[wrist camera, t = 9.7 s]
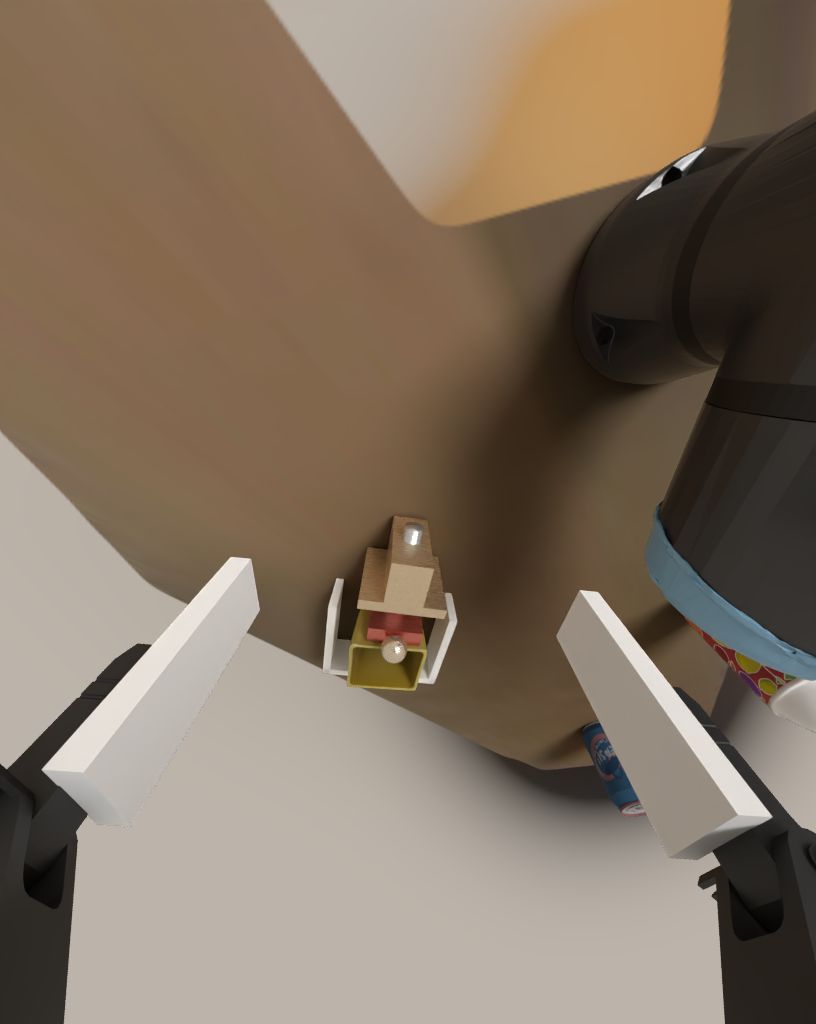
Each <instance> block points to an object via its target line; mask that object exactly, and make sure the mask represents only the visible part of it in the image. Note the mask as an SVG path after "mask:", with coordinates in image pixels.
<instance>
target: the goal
mask: <svg viewBox="0 0 816 1024" xmlns="http://www.w3.org/2000/svg"><path fill="white" fill-rule="evenodd" d="M343 584H344V579H339V578H336V582H335V585H334V589H333V592H332V595H331V599H330V602H329V606H328V617H327V628H326V640H325V651H324V663H323V673H327V674H336V675H347V676H348V667H349V647H350V643H351V640H343V639H337V637H338V628H339V619H340V610H341V601H342V592H343ZM444 595H445V601H446V607H447V613H446V616H445V619H439V618H436V620H435V623H434V626H433V629H432V632H431V636H430V639H429V642H428V645H427V656H426V659H425V662H424V665H423V668H422V671H421V675H420V678H419V681H418V683H428V684H434V683H435V680H436V677H437V675H438V672H439V669H440V667H441V664H442V661H443V659H444V656H445V653H446V651H447V648H448V645H449V643H450V640H451V637H452V635H453V632H454V629H455V627H456V624H457V618H456V613H455V608H454V603H453V598H452V593H444Z"/></svg>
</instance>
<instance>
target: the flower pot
mask: <svg viewBox="0 0 816 1024" xmlns="http://www.w3.org/2000/svg"><path fill="white" fill-rule="evenodd" d="M369 614H370V610H365V609H361V610H360V612H359V615H358V618H357V622H356V625H355V629H354V632H353V636H352V640H351V643H350V647H349V667H348V676H347V686H350V687H362V688H379V689H395V690H412V691H414V690H415V689H416V687H417V684H418V681H419V678H420V675H421V671H422V668H423V665H424V662H425V659H426V656H427V647H426V642H425V636H424V631H423V636H422V639H421V643H420V646H411V645H407V654H406V656H405V658H404V659H403V660H402V661H401V662H399V663H389V662H387V661H386V660H385V659H384V658H383V656H382V653H381V645H382V642H375V641H366V638H367V630H368V622H369Z"/></svg>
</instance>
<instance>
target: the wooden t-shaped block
mask: <svg viewBox="0 0 816 1024" xmlns="http://www.w3.org/2000/svg"><path fill="white" fill-rule="evenodd" d="M357 609H365V610H370V614H369V622H368V630H367V638H366V641H375V642H382V645H381V653H382V656H383V658H384V659H385V660H386V661H387V662H389V663H399V662H401V661H402V660H403V659H404V658H405V656H406V654H407V645H411V646H420V643H421V639H422V636H423V627H422V617H431V618H439V619H445V616H446V613H447V607H446V601H445V595H444V590H443V584H442V578H441V572H440V567H439V561H438V557H434V556H432V550H431V543H430V536H429V530H428V523H427V521H426V520H420V519H414V518H407V517H401V516H394V518H393V524H392V529H391V534H390V539H389V545H388V550H386V549H379V548H372V547H368V548H367V554H366V559H365V565H364V571H363V576H362V582H361V587H360V593H359V599H358V605H357Z"/></svg>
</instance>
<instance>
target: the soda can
mask: <svg viewBox="0 0 816 1024" xmlns="http://www.w3.org/2000/svg"><path fill="white" fill-rule="evenodd" d="M583 741H584V743H585V745H586V748H587V750H588V752H589V754H590V756H591V758H592V760H593V762H594V765H595V767H596V769H597V771H598V773H599V775H600V777H601V779H602V782H603V784H604V786H605V788H606V790H607V792H608V794H609V796H610V798H611V801H612V802H613V803H614V804H615V805H616V806H617V807H618V808H619V809H620V811H621V813H622V815H624V816H629V817H637V816H643V815H647V814H646V812H645V810H644V808H643V806H642V805H641V803H640V801H639V799H638V797H637V795H636V793H635V791H634V789H633V787H632V785H631V783H630V781H629V779H628V777H627V775H626V773H625V771H624V769H623V767H622V765H621V763H620V761H619V759H618V757H617V755H616V753H615V751H614V749H613V747H612V745H611V743H610V741H609V740H608V738H607V736H606V734H605V732H604V730H603V728H602V726H601V724H600V722H599V721H597V722H593V723H590V724H588V725H587V726H586V727H585V728H584V729H583Z"/></svg>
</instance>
